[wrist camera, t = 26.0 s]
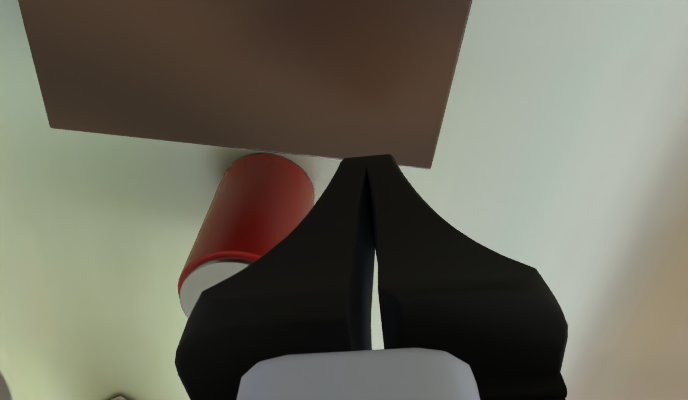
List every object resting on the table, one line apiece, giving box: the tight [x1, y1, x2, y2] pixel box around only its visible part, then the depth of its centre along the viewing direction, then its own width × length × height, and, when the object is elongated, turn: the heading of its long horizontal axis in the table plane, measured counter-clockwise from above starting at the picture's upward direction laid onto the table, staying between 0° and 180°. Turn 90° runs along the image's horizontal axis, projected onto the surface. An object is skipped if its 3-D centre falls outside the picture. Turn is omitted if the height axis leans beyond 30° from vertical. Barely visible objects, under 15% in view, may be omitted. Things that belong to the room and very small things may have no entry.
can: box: [178, 154, 314, 319], centre depth 23 cm, size 5×5×8 cm
